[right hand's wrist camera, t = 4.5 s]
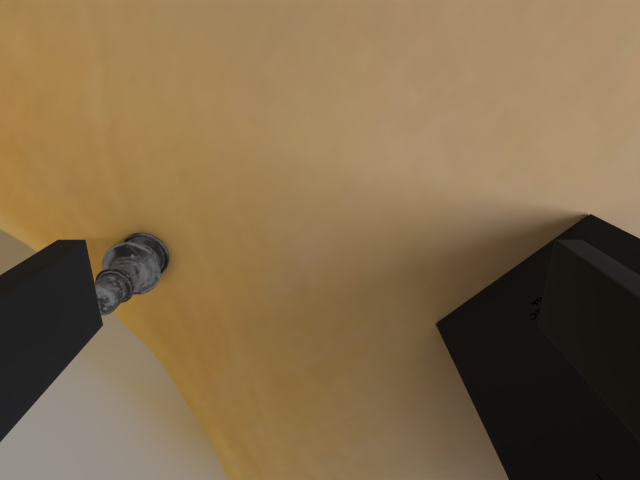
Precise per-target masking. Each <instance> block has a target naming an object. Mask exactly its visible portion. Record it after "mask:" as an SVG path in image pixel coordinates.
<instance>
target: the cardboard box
mask: <svg viewBox="0 0 640 480" xmlns="http://www.w3.org/2000/svg"><path fill="white" fill-rule="evenodd" d="M555 240H583V241H585V242H586V243H588V244H590V245H591V246H593V247H594V248H596V249H598V250H599V251H601V252H603V253H604V254H606V255H607V256H609V257H611V258H612V259H614V260H616V261H617V262H619V263H620V264H622V265H624V266H625V267H627V268H629V269H630V270H632V271H633V272H635V273H637V274H638V275H640V239H639V238H637V237H635V236H633V235H631V234H629V233H627V232H625V231H623V230H621V229H619V228H617V227H615V226H613V225H611V224H609V223H607V222H605V221H603V220H601V219H599V218H597V217H595V216H593V215H591V214H590V215H589V216H587V217H586V218H584V219H583V220H582V221H580V222H579V223H577V224H576V225H575V226H573V227H572V228H570V229H569V230H568V231H566V232H565V233H563V234H562V235H561V236H559V237H558V238H556V239H555ZM555 240H554V241H555ZM554 241H552V242H551V243H549V244H548V245H546V246H545V247H544V248H542V249H541V250H539V251H538V252H537V253H535V254H534V255H532V256H531V257H530V258H528V259H527V260H525V261H524V262H523V263H521V264H520V265H518V266H517V267H516V268H514V269H513V270H511V271H510V272H509V273H507V274H506V275H504V276H503V277H502V278H500V279H499V280H497V281H496V282H494V283H493V284H492V285H490V286H489V287H487V288H486V289H485V290H483V291H482V292H480V293H479V294H478V295H476V296H475V297H473V298H472V299H471V300H469V301H468V302H466V303H465V304H464V305H462V306H461V307H459V308H458V309H457V310H455V311H454V312H452V313H451V314H450V315H448V316H447V317H445V318H444V319H443V320H441V321H440V322H438V323H437V324H436V325H437V327H438V330H439V332H440V334H441V336H442V338H443V340H444V342H445V344H446V346H447V349H448V351H449V353H450V355H451V357H452V359H453V361H454V363H455V366H456V368H457V370H458V372H459V374H460V376H461V378H462V380H463V383H464V385H465V387H466V389H467V391H468V393H469V395H470V397H471V400H472V402H473V404H474V406H475V408H476V410H477V412H478V414H479V416H480V419H481V421H482V423H483V425H484V427H485V429H486V431H487V433H488V436H489V438H490V440H491V442H492V444H493V446H494V448H495V450H496V453H497V455H498V457H499V459H500V461H501V463H502V465H503V467H504V469H505V472H506V474H507V476H508V478H509V480H640V442H639V441H638V439H637V438H636V437H635V436H634V435H633V434H632V433H631V431H630V430H629V429H628V428H627V427H626V426H625V425H624V424H623V422H622V421H621V420H620V419H619V418H618V417H617V416H616V414H615V413H614V412H613V411H612V410H611V409H610V408H609V406H608V405H607V404H606V403H605V402H604V401H603V400H602V399H601V397H600V396H599V395H598V394H597V393H596V392H595V391H594V389H593V388H592V387H591V386H590V385H589V384H588V383H587V381H586V380H585V379H584V378H583V377H582V376H581V375H580V373H579V372H578V371H577V370H576V369H575V368H574V367H573V366H572V364H571V363H570V362H569V361H568V360H567V359H566V358H565V356H564V355H563V354H562V353H561V352H560V351H559V350H558V348H557V347H556V346H555V345H554V344H553V343H552V342H551V340H550V339H549V338H548V337H547V336H546V335H545V334H544V333H543V331H542V330H541V329H540V328H539V327H538V326H537V323H538V318H539V313H540V308H541V304H542V299H543V294H544V289H545V284H546V279H547V275H548V270H549V265H550V260H551V255H552V250H553V246H554Z"/></svg>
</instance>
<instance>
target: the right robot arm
mask: <svg viewBox="0 0 640 480" xmlns="http://www.w3.org/2000/svg"><path fill="white" fill-rule="evenodd" d="M102 326H103V323H102V318H101V313H100V308H99V304H98V299H97V294H96V289H95V284H94V279H93V275H92V270H91V265H90V260H89V255H88V250H87V246H86V241H85V240H57V241H55V242H54V243H52V244H50V245H49V246H47V247H46V248H44V249H42V250H41V251H39V252H37V253H36V254H34V255H33V256H31V257H29V258H28V259H26V260H24V261H23V262H21V263H20V264H18V265H16V266H15V267H13V268H12V269H10V270H8V271H7V272H5V273H3V274H2V275H0V442H1V441H2V439H3V438H4V437H5V436H6V435H7V434H8V433H9V431H10V430H11V429H12V428H13V427H14V426H15V425H16V424H17V422H18V421H19V420H20V419H21V418H22V417H23V416H24V414H25V413H26V412H27V411H28V410H29V409H30V408H31V406H32V405H33V404H34V403H35V402H36V401H37V400H38V398H39V397H40V396H41V395H42V394H43V393H44V392H45V390H46V389H47V388H48V387H49V386H50V385H51V384H52V383H53V381H54V380H55V379H56V378H57V377H58V376H59V375H60V373H61V372H62V371H63V370H64V369H65V368H66V367H67V366H68V364H69V363H70V362H71V361H72V360H73V359H74V358H75V356H76V355H77V354H78V353H79V352H80V351H81V350H82V348H83V347H84V346H85V345H86V344H87V343H88V342H89V340H90V339H91V338H92V337H93V336H94V335H95V334H96V333H97V331H98V330H99V329H100V328H101V327H102ZM537 326H538V327H539V328H540V329H541V330H542V331H543V333H544V334H545V335H546V336H547V337H548V338H549V339H550V340H551V342H552V343H553V344H554V345H555V346H556V347H557V348H558V350H559V351H560V352H561V353H562V354H563V355H564V356H565V358H566V359H567V360H568V361H569V362H570V363H571V364H572V366H573V367H574V368H575V369H576V370H577V371H578V372H579V373H580V375H581V376H582V377H583V378H584V379H585V380H586V381H587V383H588V384H589V385H590V386H591V387H592V388H593V389H594V391H595V392H596V393H597V394H598V395H599V396H600V397H601V399H602V400H603V401H604V402H605V403H606V404H607V405H608V406H609V408H610V409H611V410H612V411H613V412H614V413H615V414H616V416H617V417H618V418H619V419H620V420H621V421H622V422H623V424H624V425H625V426H626V427H627V428H628V429H629V430H630V431H631V433H632V434H633V435H634V436H635V437H636V438H637V439H638V441H639V442H640V275H638V274H637V273H635V272H633V271H632V270H630V269H629V268H627V267H625V266H624V265H622V264H620V263H619V262H617V261H616V260H614V259H612V258H611V257H609V256H607V255H606V254H604V253H603V252H601V251H599V250H598V249H596V248H594V247H593V246H591V245H590V244H588V243H586V242H585V241H583V240H555V241H554V246H553V250H552V255H551V260H550V265H549V270H548V275H547V279H546V284H545V289H544V294H543V299H542V304H541V308H540V313H539V318H538V323H537Z"/></svg>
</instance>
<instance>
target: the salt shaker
mask: <svg viewBox="0 0 640 480" xmlns="http://www.w3.org/2000/svg"><path fill="white" fill-rule="evenodd" d="M168 263H169V255H168V251H167V249H166V247H165V245H164V244H163V243H162V242H161V241H160V240H159V239H157V238H156V237H154V236H152V235H149V234H144V233H138V234H134V235H131V236H129V237H128V238H127V239H125V241H124V242H123V243H119V244H116V245H114V246H113V247H111V248H110V249H109V250H108V251H107V252H106V254H105V255H104V258H103V271H101V272H100V273H99V274H98V275H97V277H96V280H95V283H94V284H95V289H96V294H97V299H98V304H99V308H100V313H101V315H108V314H110V313H111V312H113V311H114V310H115V309H116V308H117V307H118V306H119V304H120V303H123V302H126V301H128V300H129V299H130V298H131V297H132V296H133V295H137V294H144V293H147V292H149V291H150V290H152V289H153V288H154V287H155V286H156V285H157V284H158V282H159V279H160V274H161V273H163V272H164V270H165V269H166V268H167V265H168Z"/></svg>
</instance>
